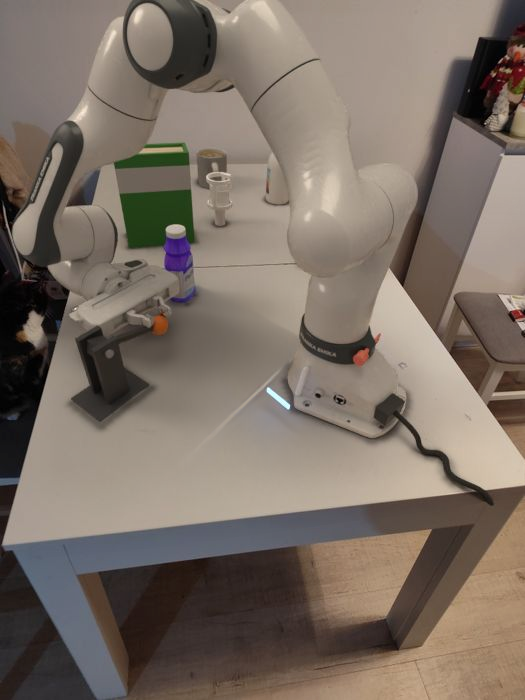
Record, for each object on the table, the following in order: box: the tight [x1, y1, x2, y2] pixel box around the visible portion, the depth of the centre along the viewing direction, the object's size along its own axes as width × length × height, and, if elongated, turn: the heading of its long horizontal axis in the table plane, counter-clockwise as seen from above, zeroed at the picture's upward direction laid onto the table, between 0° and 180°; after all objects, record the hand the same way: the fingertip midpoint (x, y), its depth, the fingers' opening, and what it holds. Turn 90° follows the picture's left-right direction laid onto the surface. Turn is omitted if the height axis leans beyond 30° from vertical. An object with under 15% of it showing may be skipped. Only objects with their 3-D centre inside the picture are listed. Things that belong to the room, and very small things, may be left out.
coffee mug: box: [196, 147, 228, 189], centre depth 150 cm, size 13×10×10 cm
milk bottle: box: [265, 151, 289, 205], centre depth 139 cm, size 8×8×20 cm
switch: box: [87, 314, 169, 356], centre depth 77 cm, size 16×4×4 cm, turn 143°
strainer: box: [206, 172, 233, 227], centre depth 127 cm, size 7×7×15 cm
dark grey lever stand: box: [70, 326, 150, 423], centre depth 76 cm, size 11×8×14 cm
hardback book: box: [113, 142, 195, 249], centre depth 115 cm, size 18×7×24 cm, turn 105°
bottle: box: [163, 224, 196, 303], centre depth 98 cm, size 7×6×17 cm
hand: (160, 317), depth 80 cm, fingers closed on switch, 2 cm apart
